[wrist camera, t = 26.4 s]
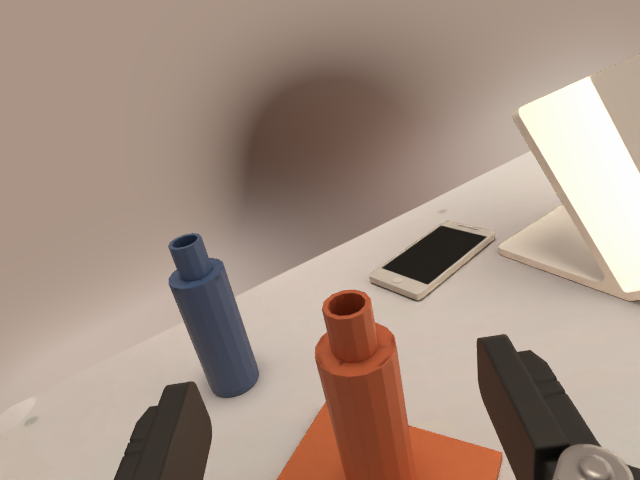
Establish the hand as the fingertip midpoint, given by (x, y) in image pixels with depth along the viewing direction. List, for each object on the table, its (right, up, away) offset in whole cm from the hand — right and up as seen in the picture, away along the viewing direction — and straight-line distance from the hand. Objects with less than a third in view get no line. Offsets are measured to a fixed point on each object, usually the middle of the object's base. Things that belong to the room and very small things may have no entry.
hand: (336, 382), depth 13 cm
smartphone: (+13, +2, +43) cm, 45 cm away
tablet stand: (+35, +5, +40) cm, 54 cm away
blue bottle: (-9, -9, +32) cm, 34 cm away
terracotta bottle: (+4, -12, +19) cm, 23 cm away
